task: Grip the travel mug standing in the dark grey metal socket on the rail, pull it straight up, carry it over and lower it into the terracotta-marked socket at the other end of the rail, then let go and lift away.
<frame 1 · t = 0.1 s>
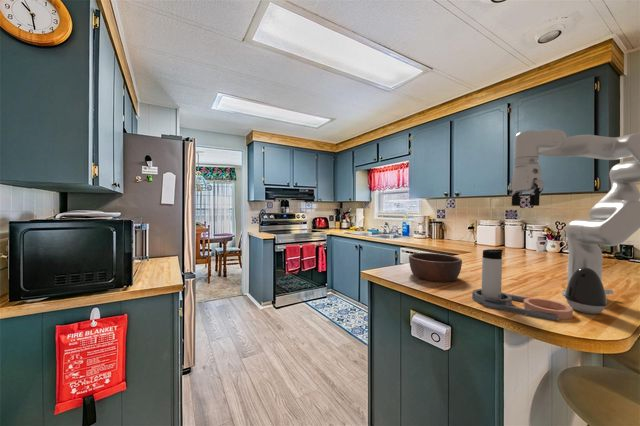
hand: (524, 205, 104), 37 cm above the counter, tool pointing down, fingers open, 9 cm apart
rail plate: (517, 305, 94), on the counter
marked socket: (546, 311, 90), on the counter
wooden bowl: (434, 277, 133), on the counter
travel mug: (491, 301, 99), resting in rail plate
dark gray tall dome: (584, 311, 90), on the counter
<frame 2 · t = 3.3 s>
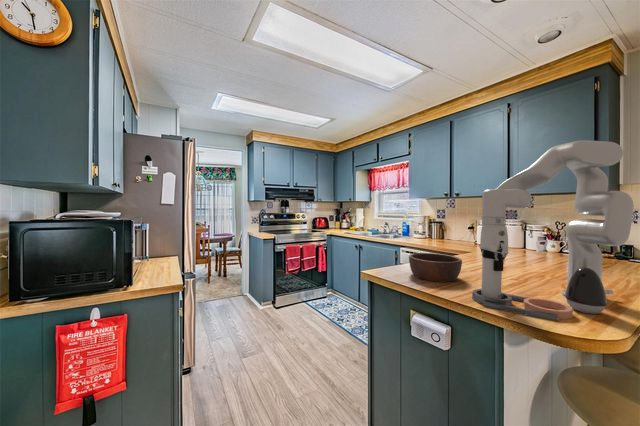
hand: (492, 268, 99), 13 cm above the counter, tool pointing down, fingers closed on travel mug, 6 cm apart
travel mug: (491, 301, 99), resting in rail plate, touching gripper
everything else where it was.
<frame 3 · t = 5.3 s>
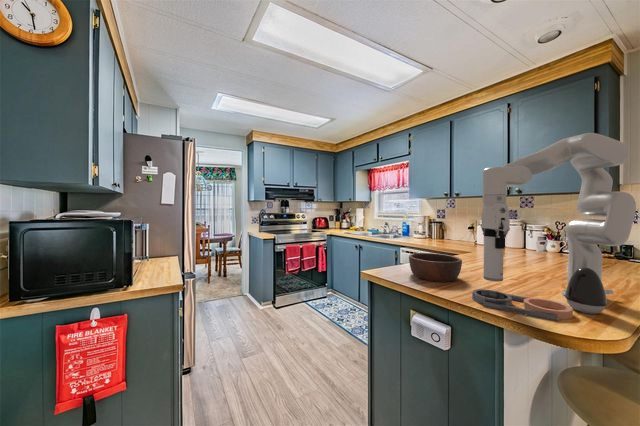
hand: (493, 246, 99), 21 cm above the counter, tool pointing down, fingers closed on travel mug, 6 cm apart
travel mug: (493, 279, 99), point 8 cm above the counter, touching gripper
everything else where it was.
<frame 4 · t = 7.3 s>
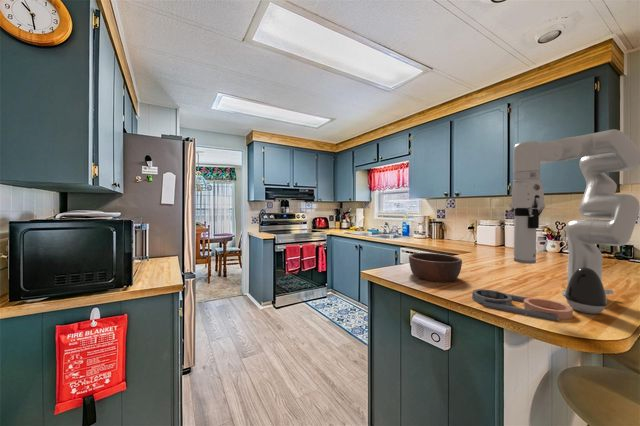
hand: (525, 226, 93), 29 cm above the counter, tool pointing down, fingers closed on travel mug, 6 cm apart
travel mug: (525, 262, 93), point 16 cm above the counter, touching gripper
everything else where it was.
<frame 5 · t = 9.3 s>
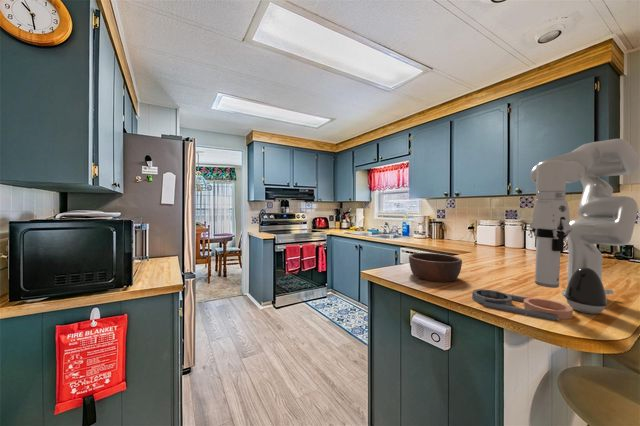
hand: (548, 248, 89), 22 cm above the counter, tool pointing down, fingers closed on travel mug, 6 cm apart
travel mug: (547, 285, 89), point 9 cm above the counter, touching gripper
everything else where it was.
when the fingers open (14 cm above the counter, at t = 11.2 s): travel mug drops 1 cm, resting in marked socket.
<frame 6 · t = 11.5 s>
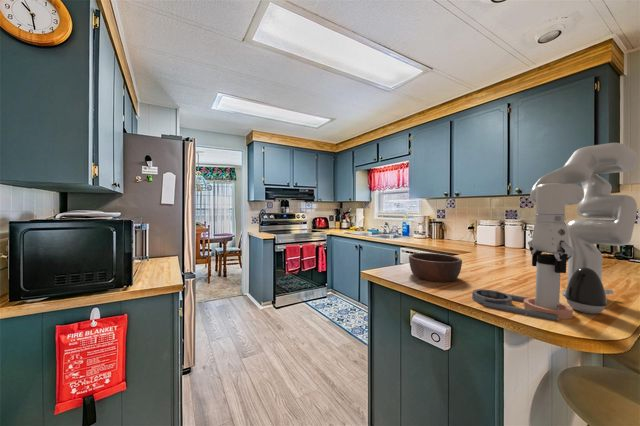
hand: (548, 269, 89), 15 cm above the counter, tool pointing down, fingers open, 9 cm apart
travel mug: (547, 311, 90), resting in marked socket
everything else where it was.
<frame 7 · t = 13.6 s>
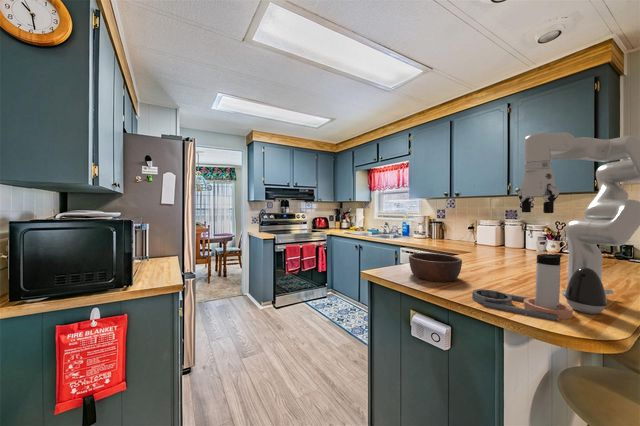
hand: (536, 212, 98), 34 cm above the counter, tool pointing down, fingers open, 9 cm apart
nothing on the counter moved.
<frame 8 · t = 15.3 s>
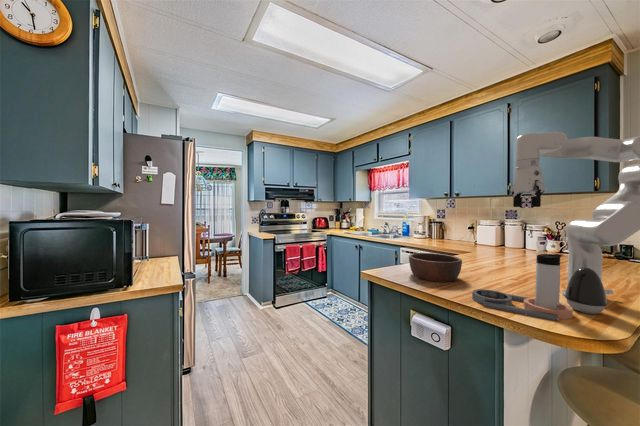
hand: (526, 206, 106), 36 cm above the counter, tool pointing down, fingers open, 9 cm apart
nothing on the counter moved.
at the end: travel mug 0.2 cm off-centre on the marked socket, point 0.0 cm above the marked socket's base; travel mug tilted 0°; the gripper is holding nothing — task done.
